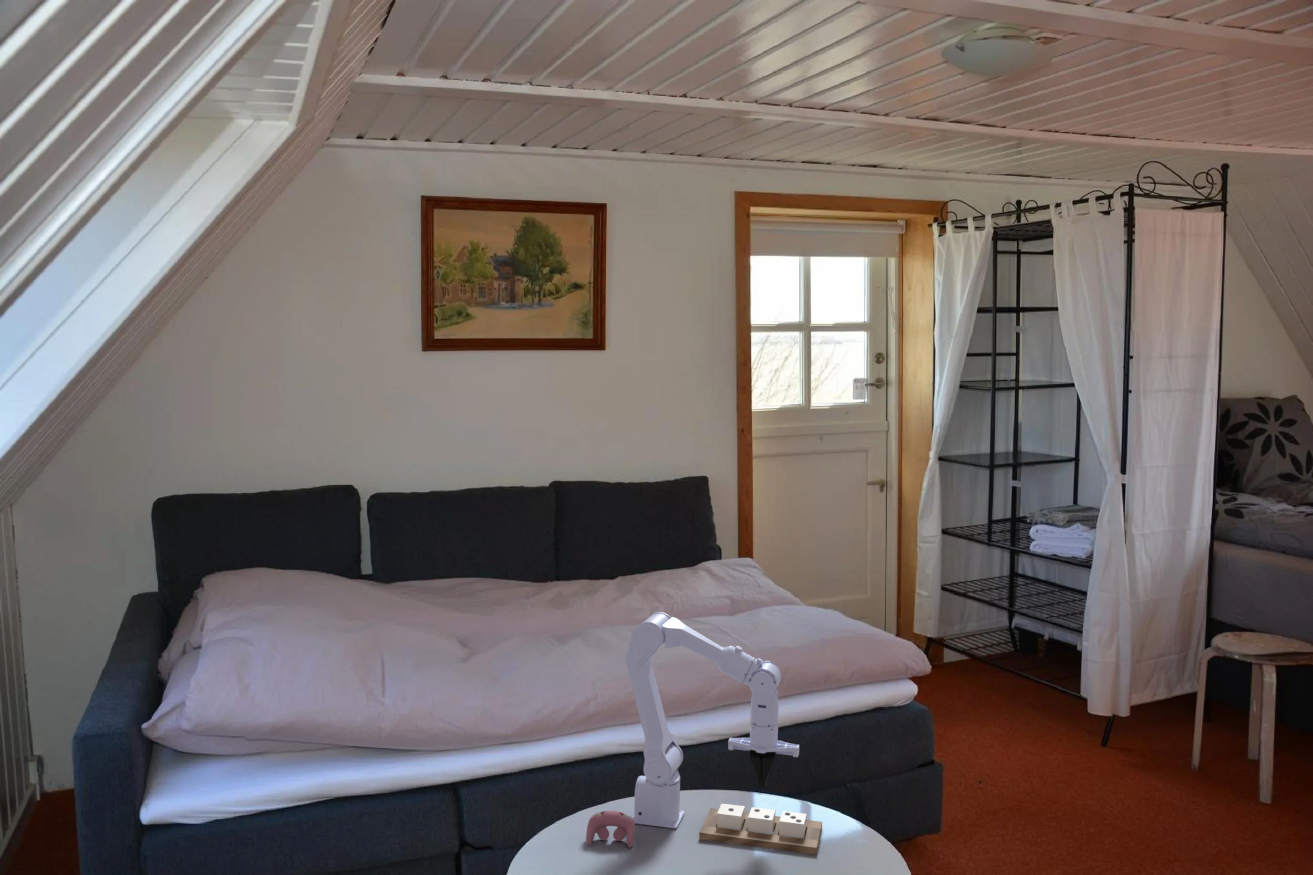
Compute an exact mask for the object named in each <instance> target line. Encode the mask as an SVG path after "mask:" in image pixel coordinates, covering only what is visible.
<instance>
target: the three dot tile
mask: <svg viewBox="0 0 1313 875" xmlns="http://www.w3.org/2000/svg"><path fill="white" fill-rule="evenodd" d="M780 817H781V818H780V821H779V836H787V837H795V838H802V839H805V835H806V833H805V830H806V820H807V813H802V812H796V811H795V812H794V811H788V810H782V813H781V815H780Z"/></svg>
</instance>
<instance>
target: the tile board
mask: <svg viewBox="0 0 1313 875" xmlns="http://www.w3.org/2000/svg"><path fill="white" fill-rule="evenodd" d="M718 811H719V808H713V807H710V809H709V811H708V813H707V815H706V817H705V819H704V822H703V824H702V826H701V828H700V830H699V832H698V835H699V836H698V838H699V840H700V841H709V842H714V841H717V842H716V843H722V842H726V843H725V844H730V843H733V844H732V845H737V844H738V846H739V845H740V846H746V847H752V848H753V847H754V848H761V849H762V848H763V849H767V850H770V849H771V850H777V851H785V852H793V853H798V854H799V853H801V854H807V855H814V856H815V855H816V856H817V855H818V849H819V845H820V839H821V836H822V831H823V830H822V829H823V821H818V820H810V819H806V830H805V835H804V838H796V837H788V836H781V835H779V821H780V818H781V816H777V815H775V826H774V829H773V832H772V834H765V833H757V832H749V831H748V816H749V814H750V812H747V811H745V820H744V823H743V825H742V828H741V830H734V829H726V828H718V827H717V813H718Z"/></svg>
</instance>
